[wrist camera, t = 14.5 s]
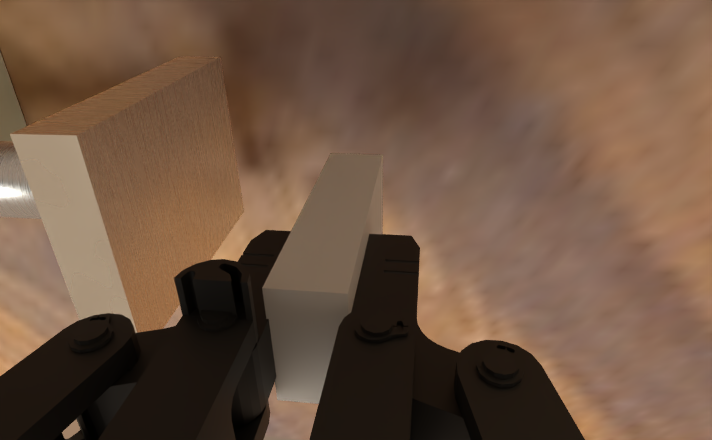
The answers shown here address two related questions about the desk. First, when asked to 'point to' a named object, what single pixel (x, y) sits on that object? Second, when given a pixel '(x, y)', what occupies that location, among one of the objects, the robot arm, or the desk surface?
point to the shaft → (130, 187)
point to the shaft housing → (8, 106)
